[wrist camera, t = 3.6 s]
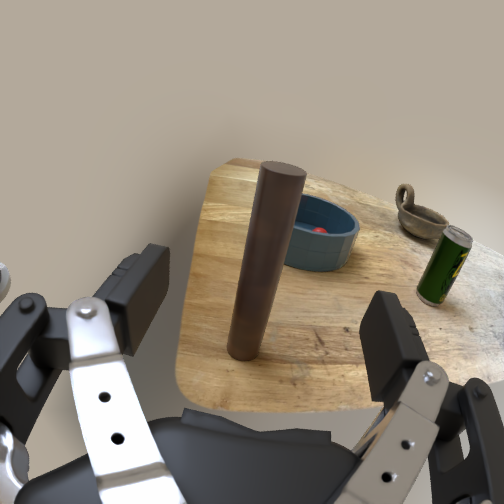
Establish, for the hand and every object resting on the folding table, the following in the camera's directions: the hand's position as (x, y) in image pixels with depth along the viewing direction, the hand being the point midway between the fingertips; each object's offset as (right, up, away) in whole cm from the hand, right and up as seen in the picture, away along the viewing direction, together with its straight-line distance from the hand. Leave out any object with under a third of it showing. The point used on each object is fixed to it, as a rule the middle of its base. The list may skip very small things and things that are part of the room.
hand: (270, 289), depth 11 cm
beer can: (+28, -6, +32) cm, 43 cm away
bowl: (+39, +6, +57) cm, 69 cm away
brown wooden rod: (-2, -8, +18) cm, 20 cm away
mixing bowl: (+8, +3, +40) cm, 40 cm away
